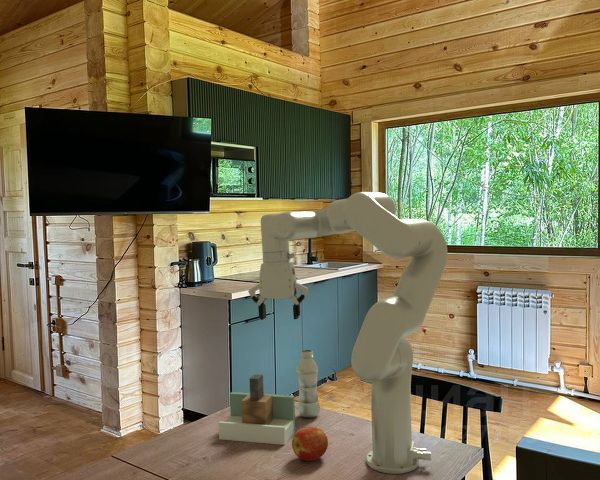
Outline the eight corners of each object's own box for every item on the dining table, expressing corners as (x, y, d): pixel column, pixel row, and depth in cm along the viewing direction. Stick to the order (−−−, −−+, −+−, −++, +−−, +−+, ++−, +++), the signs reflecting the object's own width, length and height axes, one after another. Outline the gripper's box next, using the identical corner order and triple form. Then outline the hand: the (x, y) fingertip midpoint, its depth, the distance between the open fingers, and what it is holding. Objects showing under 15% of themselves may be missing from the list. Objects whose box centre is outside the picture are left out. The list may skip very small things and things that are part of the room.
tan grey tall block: (273, 419, 154) (271, 374, 153) (266, 427, 148) (264, 380, 148) (250, 417, 156) (248, 373, 155) (242, 425, 150) (240, 379, 149)
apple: (288, 456, 138) (287, 425, 137) (317, 449, 141) (316, 419, 141) (303, 469, 130) (302, 436, 130) (333, 460, 134) (332, 429, 134)
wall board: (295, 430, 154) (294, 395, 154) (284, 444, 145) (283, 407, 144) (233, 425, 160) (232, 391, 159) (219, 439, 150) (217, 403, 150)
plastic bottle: (318, 420, 161) (316, 353, 160) (296, 419, 163) (293, 353, 162) (321, 412, 168) (319, 348, 167) (300, 411, 169) (298, 348, 168)
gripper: (309, 255, 154) (312, 316, 154) (251, 258, 158) (254, 316, 158) (302, 257, 146) (306, 320, 147) (242, 260, 151) (246, 321, 151)
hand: (279, 318), depth 153 cm, fingers open, 9 cm apart
